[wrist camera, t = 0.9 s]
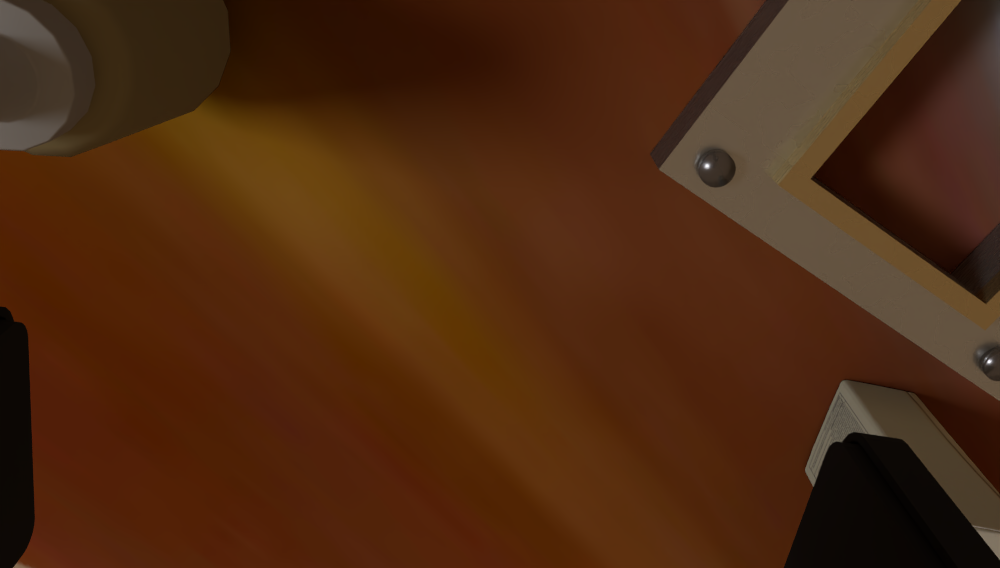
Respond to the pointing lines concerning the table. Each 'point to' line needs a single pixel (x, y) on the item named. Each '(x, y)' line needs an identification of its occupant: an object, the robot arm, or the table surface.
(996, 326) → the picture frame
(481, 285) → the table surface
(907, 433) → the skincare box
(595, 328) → the table surface
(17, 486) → the robot arm
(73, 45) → the squeeze bottle
